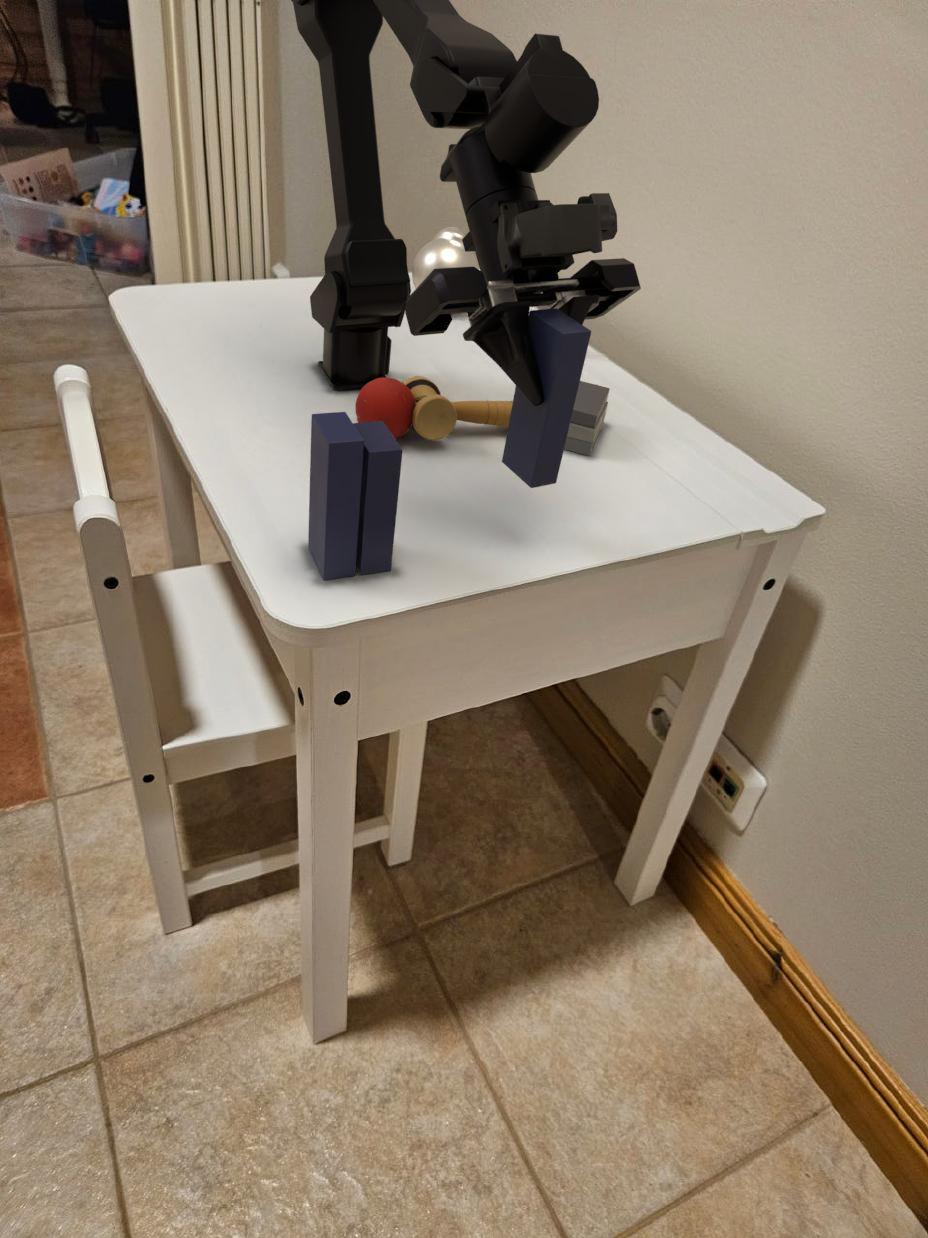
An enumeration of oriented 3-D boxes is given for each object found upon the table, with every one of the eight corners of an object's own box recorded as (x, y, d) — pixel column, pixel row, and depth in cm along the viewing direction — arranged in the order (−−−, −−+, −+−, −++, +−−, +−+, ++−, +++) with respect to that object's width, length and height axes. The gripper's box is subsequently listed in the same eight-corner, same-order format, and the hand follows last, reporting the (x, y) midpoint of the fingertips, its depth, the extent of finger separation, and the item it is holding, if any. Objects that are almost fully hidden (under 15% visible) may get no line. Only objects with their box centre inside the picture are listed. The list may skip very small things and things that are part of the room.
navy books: (323, 580, 69) (328, 443, 61) (307, 548, 72) (311, 413, 65) (391, 571, 71) (404, 436, 64) (373, 540, 74) (383, 408, 67)
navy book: (530, 488, 72) (563, 333, 64) (501, 461, 75) (529, 310, 66) (556, 483, 73) (592, 330, 65) (526, 457, 76) (556, 307, 68)
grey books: (515, 436, 92) (522, 397, 90) (533, 407, 99) (540, 369, 96) (589, 456, 91) (598, 417, 88) (602, 425, 97) (612, 387, 95)
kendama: (499, 419, 98) (342, 407, 90) (518, 370, 93) (354, 353, 86) (522, 464, 93) (358, 455, 86) (544, 414, 89) (373, 400, 81)
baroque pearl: (489, 311, 120) (501, 235, 114) (443, 324, 114) (453, 244, 108) (441, 290, 125) (450, 215, 118) (394, 301, 118) (400, 223, 112)
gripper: (442, 143, 57) (506, 377, 57) (658, 148, 66) (713, 350, 66) (379, 231, 67) (433, 430, 67) (574, 224, 76) (622, 401, 76)
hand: (554, 401), depth 68 cm, fingers closed on navy book, 3 cm apart
